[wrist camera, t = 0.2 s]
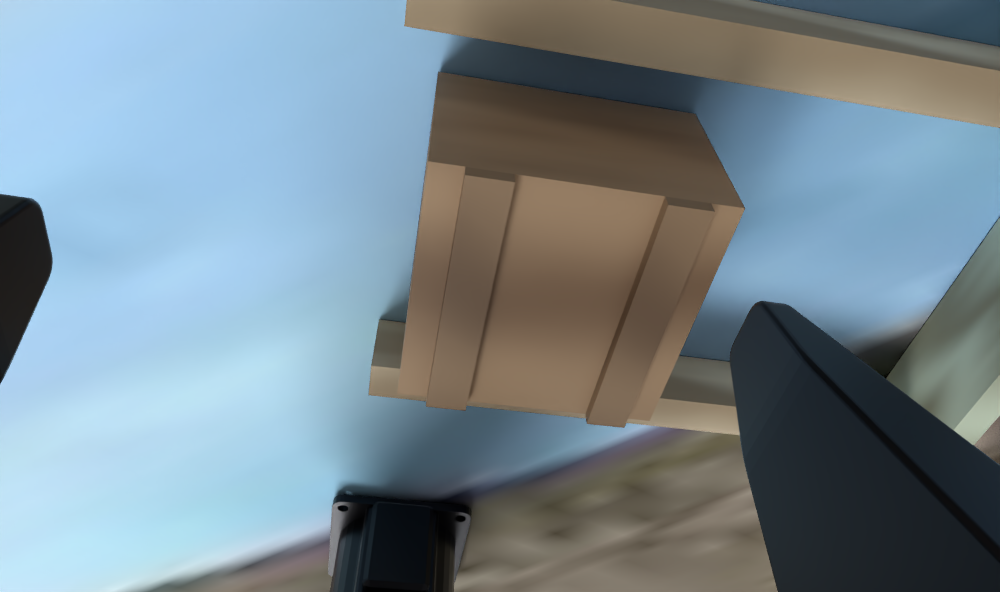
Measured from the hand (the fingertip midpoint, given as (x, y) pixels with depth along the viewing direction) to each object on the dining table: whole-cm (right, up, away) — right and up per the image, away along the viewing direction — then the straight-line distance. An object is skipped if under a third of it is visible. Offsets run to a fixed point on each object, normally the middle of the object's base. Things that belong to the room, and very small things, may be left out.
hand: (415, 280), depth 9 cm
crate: (+2, +3, +15) cm, 16 cm away
